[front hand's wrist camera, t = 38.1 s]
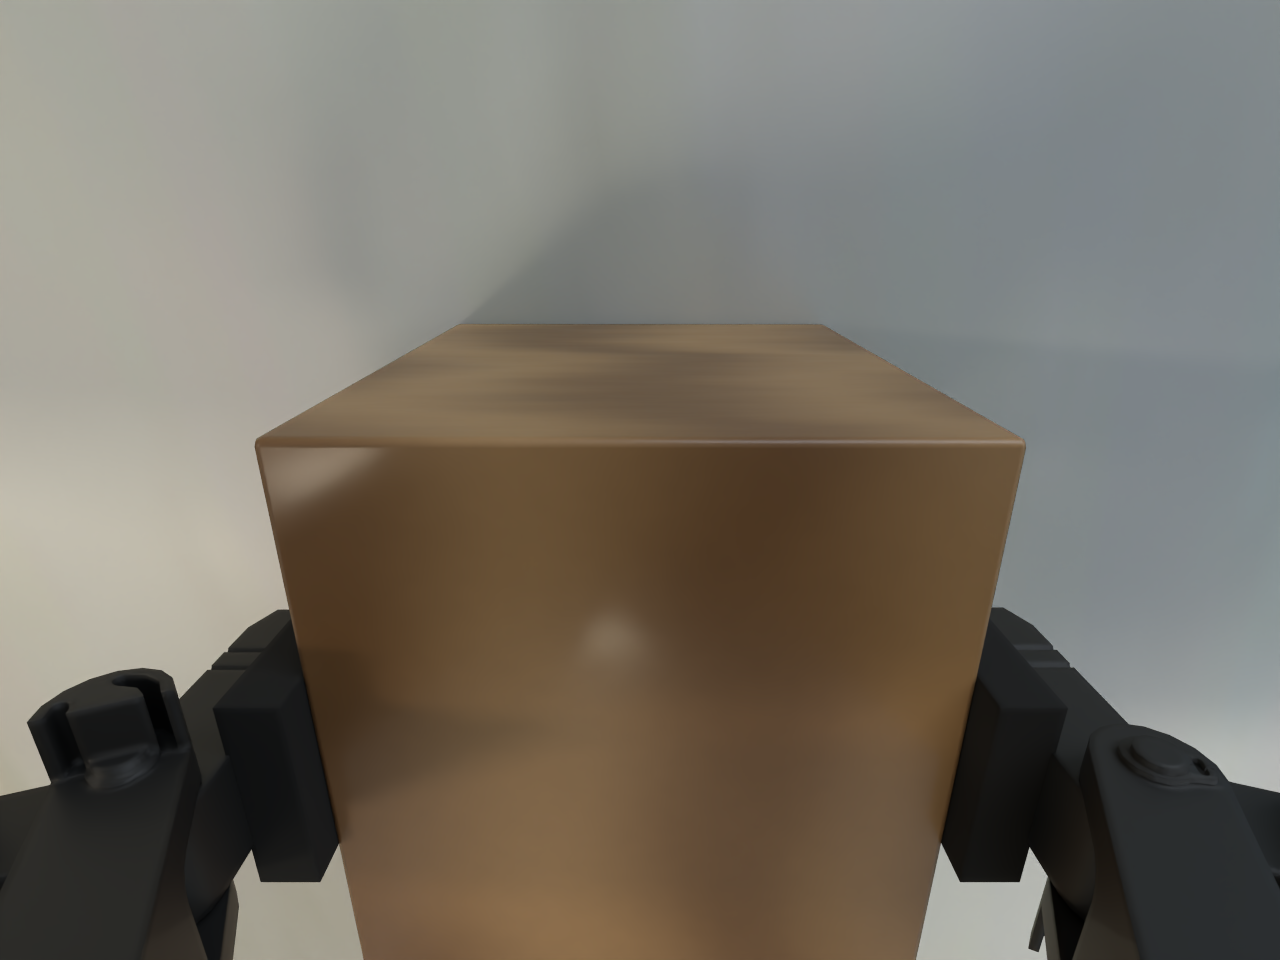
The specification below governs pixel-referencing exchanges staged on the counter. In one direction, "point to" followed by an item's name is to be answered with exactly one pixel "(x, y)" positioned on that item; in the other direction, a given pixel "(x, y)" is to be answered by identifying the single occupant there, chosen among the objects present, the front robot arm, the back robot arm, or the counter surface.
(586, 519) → the block
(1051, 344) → the counter surface
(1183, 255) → the counter surface
